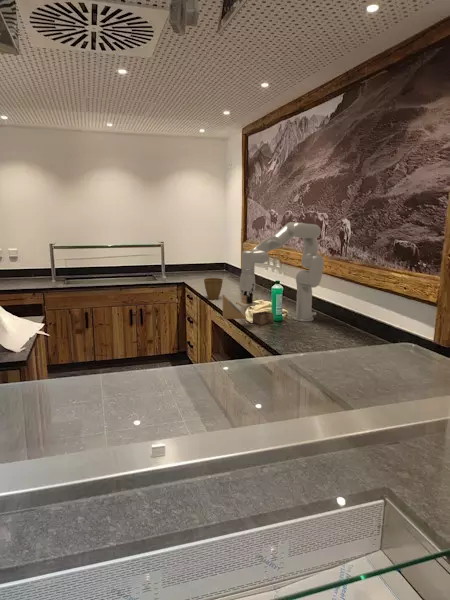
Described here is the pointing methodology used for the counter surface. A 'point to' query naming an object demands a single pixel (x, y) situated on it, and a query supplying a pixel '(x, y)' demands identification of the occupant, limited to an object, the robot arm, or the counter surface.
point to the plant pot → (213, 287)
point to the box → (263, 318)
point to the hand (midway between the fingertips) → (247, 302)
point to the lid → (244, 302)
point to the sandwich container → (231, 310)
